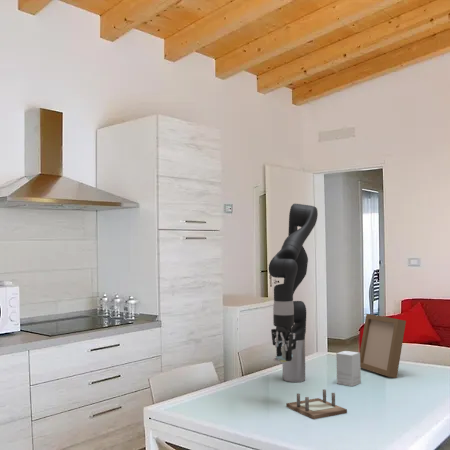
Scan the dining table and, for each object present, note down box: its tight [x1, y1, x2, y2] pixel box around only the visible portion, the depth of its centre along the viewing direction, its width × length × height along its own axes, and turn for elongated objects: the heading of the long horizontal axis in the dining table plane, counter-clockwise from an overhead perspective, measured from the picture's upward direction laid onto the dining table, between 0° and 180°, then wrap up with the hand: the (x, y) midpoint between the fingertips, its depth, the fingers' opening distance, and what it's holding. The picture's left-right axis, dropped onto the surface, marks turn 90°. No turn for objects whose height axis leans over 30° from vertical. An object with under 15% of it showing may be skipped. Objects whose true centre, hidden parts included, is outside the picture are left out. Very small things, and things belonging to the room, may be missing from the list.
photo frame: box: [359, 313, 407, 379], centre depth 247 cm, size 15×22×25 cm
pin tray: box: [285, 389, 348, 420], centre depth 191 cm, size 16×14×6 cm
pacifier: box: [272, 345, 293, 363], centre depth 202 cm, size 7×6×6 cm
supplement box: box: [335, 350, 362, 387], centre depth 227 cm, size 7×7×13 cm
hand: (284, 359), depth 202 cm, fingers closed on pacifier, 5 cm apart
